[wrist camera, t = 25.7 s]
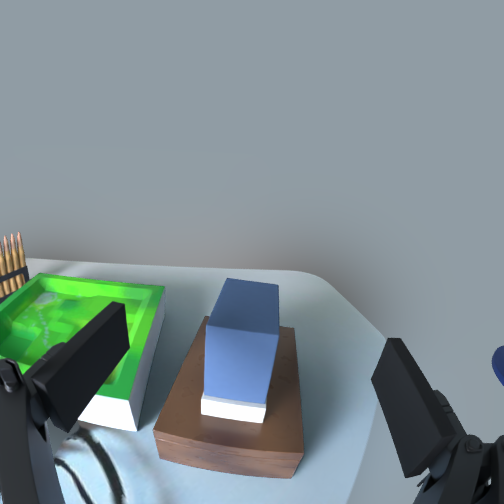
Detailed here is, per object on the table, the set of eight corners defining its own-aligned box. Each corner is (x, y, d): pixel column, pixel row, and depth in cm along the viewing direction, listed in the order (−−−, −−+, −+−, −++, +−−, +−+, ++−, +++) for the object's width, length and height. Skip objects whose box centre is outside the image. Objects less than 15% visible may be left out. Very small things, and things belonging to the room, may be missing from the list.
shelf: (287, 356, 38) (294, 327, 36) (291, 478, 19) (304, 453, 17) (204, 345, 38) (205, 315, 37) (159, 458, 19) (152, 429, 18)
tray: (165, 313, 45) (164, 286, 44) (136, 431, 22) (128, 400, 20) (43, 297, 41) (39, 272, 40) (-30, 376, 18) (-44, 345, 16)
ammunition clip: (-6, 307, 33) (-19, 244, 30) (-10, 304, 33) (-22, 242, 30) (31, 288, 43) (24, 231, 40) (27, 286, 43) (20, 229, 40)
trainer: (268, 336, 34) (279, 268, 31) (262, 423, 20) (281, 339, 18) (226, 331, 34) (232, 262, 31) (201, 414, 20) (202, 328, 18)
